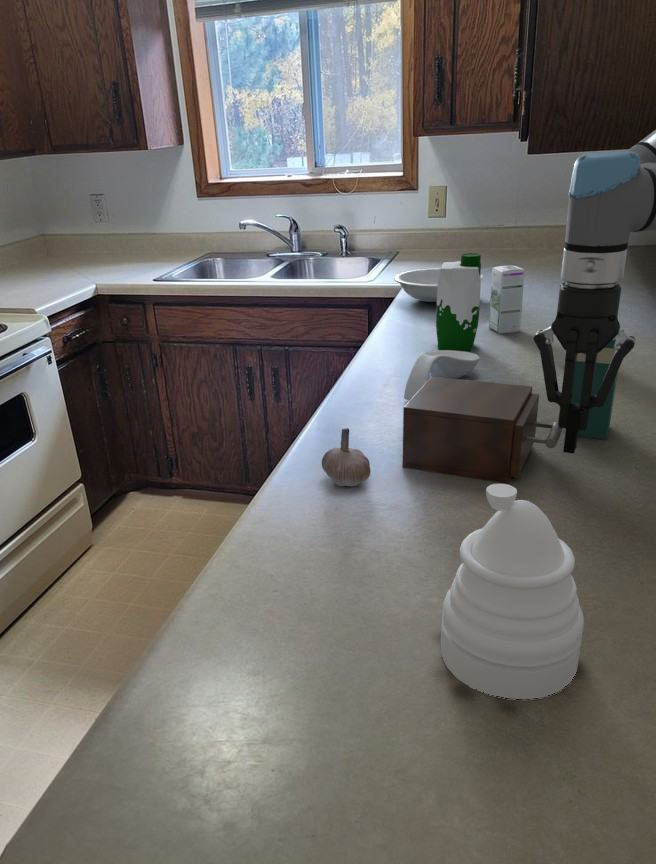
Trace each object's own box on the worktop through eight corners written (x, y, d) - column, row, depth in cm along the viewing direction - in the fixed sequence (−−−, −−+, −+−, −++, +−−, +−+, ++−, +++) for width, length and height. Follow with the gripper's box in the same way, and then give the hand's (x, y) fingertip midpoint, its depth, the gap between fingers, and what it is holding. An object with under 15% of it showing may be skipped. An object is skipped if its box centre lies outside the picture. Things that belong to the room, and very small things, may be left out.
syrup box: (521, 331, 173) (526, 268, 166) (497, 334, 172) (501, 270, 166) (510, 326, 178) (515, 264, 172) (487, 328, 177) (491, 266, 171)
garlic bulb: (333, 465, 112) (332, 416, 109) (379, 472, 109) (379, 422, 106) (313, 486, 106) (311, 435, 102) (361, 494, 103) (360, 442, 99)
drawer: (563, 445, 113) (569, 396, 109) (549, 482, 102) (555, 429, 98) (442, 429, 120) (444, 384, 117) (418, 462, 110) (419, 413, 106)
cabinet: (526, 444, 116) (532, 386, 111) (508, 483, 104) (513, 420, 100) (430, 431, 122) (432, 376, 118) (402, 467, 110) (403, 407, 106)
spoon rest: (430, 363, 155) (431, 329, 152) (485, 369, 150) (487, 334, 147) (386, 399, 137) (387, 362, 133) (448, 407, 131) (450, 369, 128)
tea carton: (609, 426, 121) (624, 329, 113) (606, 440, 116) (621, 340, 109) (570, 421, 123) (582, 327, 116) (565, 435, 118) (577, 337, 111)
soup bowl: (376, 301, 208) (376, 277, 205) (435, 287, 220) (436, 264, 217) (440, 315, 190) (441, 289, 187) (500, 299, 203) (501, 274, 200)
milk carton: (475, 353, 159) (481, 258, 150) (433, 352, 162) (436, 258, 153) (478, 342, 167) (484, 251, 158) (437, 341, 169) (441, 251, 160)
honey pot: (454, 703, 66) (465, 529, 58) (430, 616, 78) (436, 461, 70) (598, 697, 66) (629, 522, 58) (553, 611, 77) (573, 455, 69)
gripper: (533, 286, 95) (518, 453, 105) (644, 291, 90) (616, 466, 100) (543, 274, 101) (528, 433, 111) (647, 278, 96) (621, 445, 106)
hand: (569, 449), depth 106 cm, fingers closed
